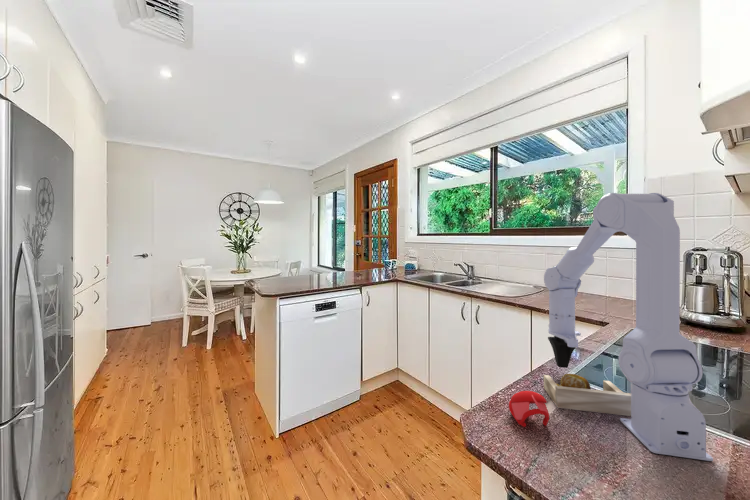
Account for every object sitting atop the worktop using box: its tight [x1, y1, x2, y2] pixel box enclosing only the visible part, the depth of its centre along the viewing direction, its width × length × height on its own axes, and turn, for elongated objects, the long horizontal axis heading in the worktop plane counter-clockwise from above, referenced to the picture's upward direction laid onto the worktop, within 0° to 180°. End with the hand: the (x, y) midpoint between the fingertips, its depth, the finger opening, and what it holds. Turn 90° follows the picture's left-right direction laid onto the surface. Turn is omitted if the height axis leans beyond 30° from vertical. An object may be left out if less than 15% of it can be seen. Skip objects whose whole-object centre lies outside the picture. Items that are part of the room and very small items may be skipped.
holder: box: [543, 374, 631, 417], centre depth 63 cm, size 9×13×4 cm
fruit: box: [556, 373, 592, 389], centre depth 67 cm, size 8×8×4 cm
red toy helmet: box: [508, 390, 550, 428], centre depth 56 cm, size 8×6×6 cm
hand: (562, 366), depth 76 cm, fingers closed
